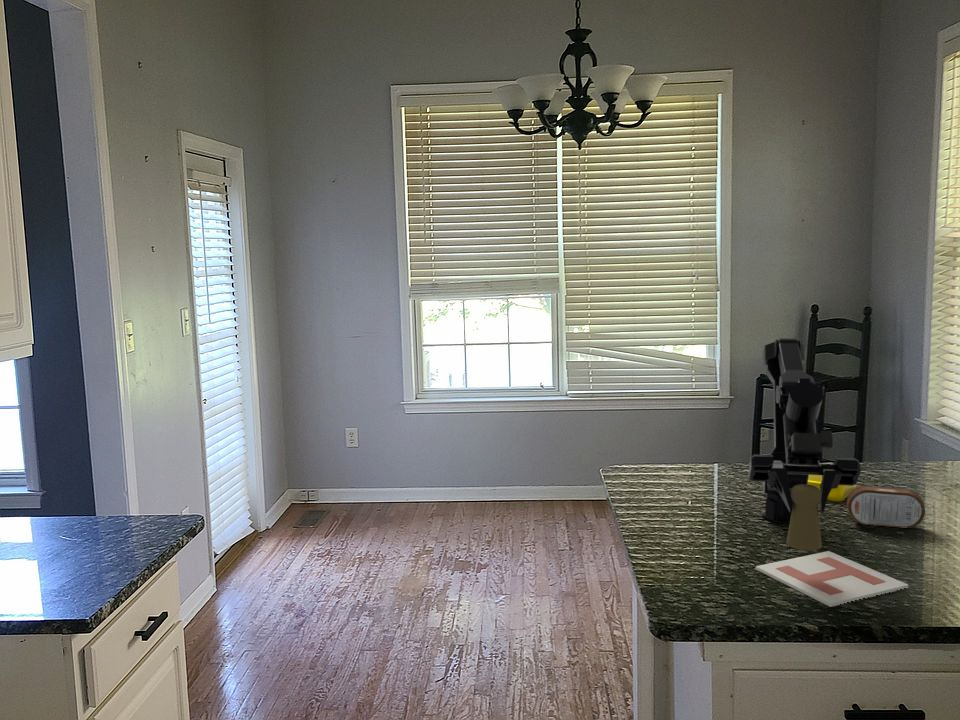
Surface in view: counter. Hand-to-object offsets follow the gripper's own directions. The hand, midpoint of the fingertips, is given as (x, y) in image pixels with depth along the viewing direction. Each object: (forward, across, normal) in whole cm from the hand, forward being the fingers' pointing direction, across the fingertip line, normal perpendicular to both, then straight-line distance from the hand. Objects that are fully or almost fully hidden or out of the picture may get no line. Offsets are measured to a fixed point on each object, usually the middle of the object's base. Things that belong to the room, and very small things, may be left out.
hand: (806, 511), depth 147 cm
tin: (-14, +20, +33) cm, 41 cm away
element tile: (-32, +11, +52) cm, 62 cm away
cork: (+4, 0, +6) cm, 7 cm away
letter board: (+8, +4, +10) cm, 14 cm away
